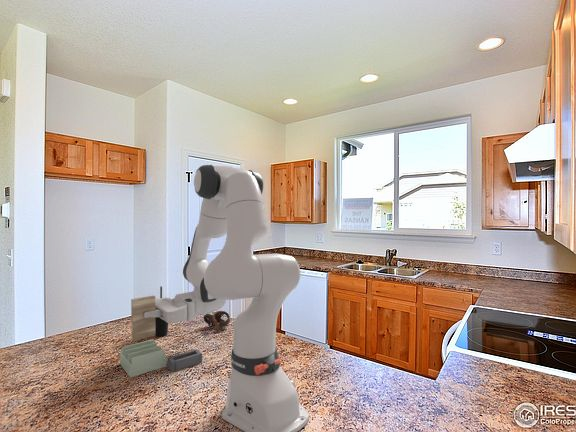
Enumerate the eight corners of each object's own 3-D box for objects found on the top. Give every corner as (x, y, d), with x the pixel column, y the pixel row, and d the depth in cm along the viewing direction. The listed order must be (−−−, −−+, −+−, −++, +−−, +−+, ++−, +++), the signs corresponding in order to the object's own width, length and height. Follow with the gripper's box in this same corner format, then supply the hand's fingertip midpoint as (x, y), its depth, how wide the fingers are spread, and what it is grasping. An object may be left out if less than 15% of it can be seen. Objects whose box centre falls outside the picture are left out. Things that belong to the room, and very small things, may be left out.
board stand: (202, 362, 105) (202, 353, 105) (172, 372, 99) (172, 362, 99) (196, 357, 109) (196, 349, 109) (167, 367, 102) (167, 357, 102)
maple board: (155, 335, 105) (155, 296, 105) (133, 340, 101) (132, 300, 101) (153, 333, 107) (153, 295, 107) (131, 339, 102) (131, 299, 102)
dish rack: (166, 366, 103) (166, 349, 103) (130, 377, 95) (130, 359, 95) (154, 354, 112) (154, 338, 112) (120, 363, 104) (120, 347, 104)
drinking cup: (146, 337, 127) (146, 287, 127) (159, 330, 135) (159, 284, 135) (162, 339, 125) (162, 289, 125) (174, 332, 132) (174, 285, 133)
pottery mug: (230, 324, 145) (233, 311, 141) (225, 340, 136) (228, 326, 132) (204, 318, 144) (207, 304, 140) (198, 334, 135) (200, 320, 132)
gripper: (171, 291, 120) (132, 298, 111) (195, 302, 105) (152, 311, 96) (171, 308, 120) (133, 315, 111) (195, 321, 105) (152, 331, 96)
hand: (142, 313), depth 103 cm, fingers closed on maple board, 2 cm apart
